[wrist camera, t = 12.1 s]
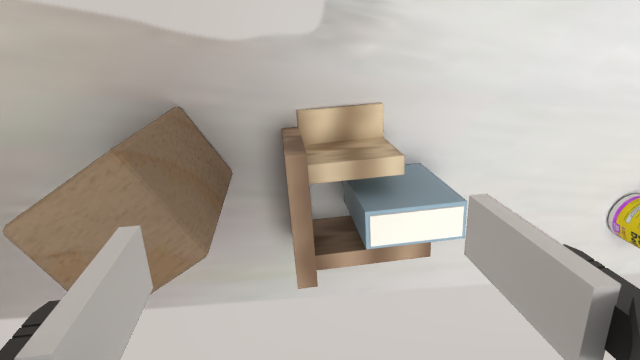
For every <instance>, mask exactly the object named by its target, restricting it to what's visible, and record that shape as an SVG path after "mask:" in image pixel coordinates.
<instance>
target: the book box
mask: <svg viewBox="0 0 640 360" xmlns="http://www.w3.org/2000/svg"><path fill="white" fill-rule="evenodd" d="M343 189H344V202H345V204H346V206H347V208H348V210H349V213H350V215H351V217H352V219H353V221H354V224H355V226H356V228H357V230H358V232H359V235H360V237H361V239H362V241H363V243H364V246H365V248H366V249H375V248H384V247H392V246H401V245H409V244H418V243H427V242H435V241H444V240H453V239H461V238H465V225H466V210H467V201H466V200H465V199H464V198H463V197H461V196H460V195H459V194H458V193H456V192H455V191H454V190H453V189H452V188H450V187H449V186H448V185H447V184H445V183H444V182H443V181H442V180H441V179H439V178H438V177H437V176H436V175H434V174H433V173H432V172H431V171H429V170H428V169H427V168H426V167H425V166H423V165H422V164H421V163H417V164H407V165H404V174H403V175H393V176H384V177H374V178H364V179H355V180H345V181H343Z"/></svg>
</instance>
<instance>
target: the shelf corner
mask: <svg viewBox="0 0 640 360" xmlns="http://www.w3.org/2000/svg"><path fill="white" fill-rule="evenodd" d="M282 138H283V148H284V157H285V167H286V177H287V187H288V197H289V206H290V216H291V226H292V236H293V245H294V255H295V264H296V274H297V283H298V289H301V288H309V287H317V286H318V285H317V272H316V270H323V269H331V268H339V267H347V266H355V265H364V264H372V263H380V262H388V261H397V260H405V259H413V258H421V257H429V256H430V251H431V242H427V243H418V244H409V245H401V246H392V247H384V248H375V249H366V248H365V246H364V243H363V241H362V239H361V237H360V235H359V232H358V230H357V228H356V226H355V224H354V221H353V219H352V217H351V216H344V217H335V218H326V219H317V220H312V212H311V200H310V187H309V175H308V163H307V153H306V150H305V147H304V143H303V140H302V137H301V134H300V130H299V127H295V128H284V129H282Z"/></svg>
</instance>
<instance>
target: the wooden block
mask: <svg viewBox="0 0 640 360" xmlns="http://www.w3.org/2000/svg"><path fill="white" fill-rule="evenodd" d="M231 177H232V171H231V170H230V169H229V167H228V166H227V165H226V164H225V162H224V161H223V160H222V159H221V157H220V156H219V155H218V154H217V152H216V151H215V150H214V149H213V147H212V146H211V145H210V144H209V142H208V141H207V140H206V139H205V138H204V136H203V135H202V134H201V133H200V131H199V130H198V129H197V128H196V126H195V125H194V124H193V123H192V121H191V120H190V119H189V118H188V116H187V115H186V114H185V113H184V111H183V110H182V109H181V108H179V107H175V108H173V109H172V110H170V111H169V112H167V113H166V114H164V115H163V116H161V117H160V118H158V119H156V120H155V121H153V122H152V123H150V124H149V125H147V126H146V127H144V128H143V129H141V130H140V131H138V132H137V133H135V134H134V135H132V136H131V137H129V138H128V139H126V140H125V141H123V142H122V143H120V144H119V145H117V146H116V147H114V148H113V149H111V150H110V151H108V152H107V153H105V154H104V155H103V156H101V157H100V158H98V159H97V160H96V161H94V162H93V163H91V164H90V165H89V166H87V167H86V168H85V169H83V170H82V171H80V172H79V173H78V174H76V175H75V176H73V177H72V178H71V179H69V180H68V181H66V182H65V183H64V184H62V185H61V186H59V187H58V188H57V189H55V190H54V191H53V192H51V193H50V194H48V195H47V196H46V197H44V198H43V199H41V200H40V201H39V202H37V203H36V204H34V205H33V206H32V207H30V208H29V209H27V210H26V211H25V212H23V213H22V214H20V215H19V216H18V217H16V218H15V219H14V220H12V221H11V222H9V223H8V224H7V225H6V226H5V228H4V230H3V233H4V235H5V236H6V237H7V238H8V239H9V240H11V241H12V242H13V243H14V244H15V245H16V246H17V247H18V248H20V249H21V250H22V251H23V252H24V253H25V254H26V255H27V256H29V257H30V258H31V259H32V260H33V261H34V262H35V263H36V264H38V265H39V266H40V267H41V268H42V269H43V270H44V271H45V272H47V273H48V274H49V275H50V276H51V277H52V278H53V279H54V280H56V281H57V282H58V283H59V284H60V285H61V286H62V287H63V288H65V289H66V290H67V291H68V290H69V289H70V288H71V287H72V285H73V284H74V283H75V282H76V280H77V279H78V278H79V277H80V275H81V274H82V273H83V272H84V270H85V269H86V268H87V267H88V265H89V264H90V263H91V262H92V260H93V259H94V258H95V257H96V255H97V254H98V253H99V252H100V250H101V249H102V248H103V247H104V245H105V244H106V243H107V242H108V240H109V239H110V238H111V236H112V235H113V234H114V233H115V231H116V230H117V229H118V228H119V227H128V226H139V225H140V228H141V232H142V237H143V242H144V247H145V251H146V256H147V261H148V266H149V270H150V275H151V280H152V285H153V289H152V291H151V293H153V292H154V291H156V290H157V289H159V288H160V287H162V286H163V285H165V284H166V283H168V282H169V281H171V280H172V279H174V278H175V277H177V276H178V275H180V274H181V273H183V272H184V271H186V270H187V269H189V268H190V267H192V266H193V265H195V264H196V263H198V262H199V261H201V260H202V259H204V258H205V257H206V256H207V254H208V252H209V249H210V245H211V242H212V239H213V236H214V232H215V229H216V226H217V222H218V219H219V216H220V213H221V209H222V206H223V203H224V200H225V196H226V193H227V190H228V187H229V183H230V180H231ZM151 293H150V294H151Z"/></svg>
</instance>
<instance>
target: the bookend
mask: <svg viewBox="0 0 640 360" xmlns="http://www.w3.org/2000/svg"><path fill="white" fill-rule="evenodd" d="M297 116H298V127H299V130H300V134H301V137H302V140H303V143H304V147H305V150H306V153H307V163H308V175H309V184H316V183H325V182H335V181H345V180H355V179H364V178H374V177H384V176H393V175H403V174H404V155H403V154H402V153H401V152H400V151H399V150H397V149H396V148H395V147H394V146H393V145H391V144H390V143H389V142H388V141H387V140H386V139H384V138H383V104H382V103H375V104H364V105H352V106H341V107H329V108H318V109H306V110H297Z"/></svg>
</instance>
